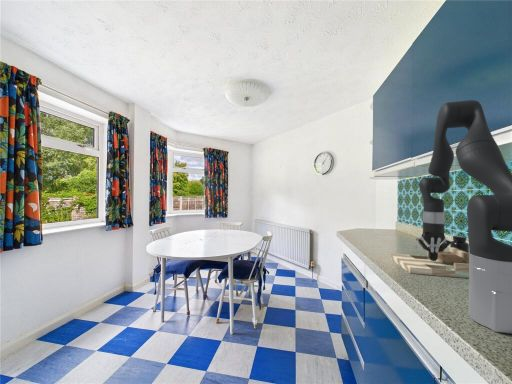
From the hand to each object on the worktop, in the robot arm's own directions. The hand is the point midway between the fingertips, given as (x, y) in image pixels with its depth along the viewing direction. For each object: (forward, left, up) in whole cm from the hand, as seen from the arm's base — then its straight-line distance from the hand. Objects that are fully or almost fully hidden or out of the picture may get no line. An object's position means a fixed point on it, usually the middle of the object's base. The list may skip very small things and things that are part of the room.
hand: (432, 260), depth 95 cm
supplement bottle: (+16, -20, -4) cm, 26 cm away
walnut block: (+1, -7, -1) cm, 7 cm away
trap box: (0, 0, -3) cm, 3 cm away
